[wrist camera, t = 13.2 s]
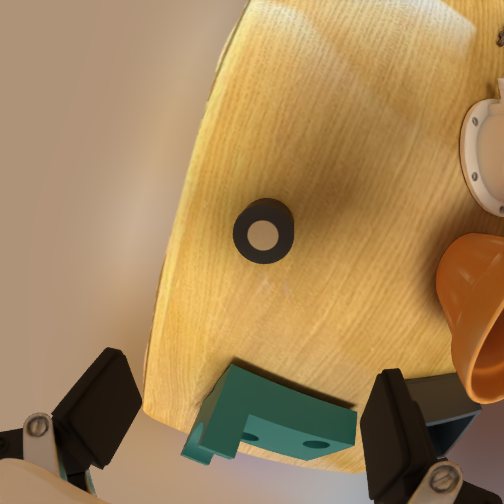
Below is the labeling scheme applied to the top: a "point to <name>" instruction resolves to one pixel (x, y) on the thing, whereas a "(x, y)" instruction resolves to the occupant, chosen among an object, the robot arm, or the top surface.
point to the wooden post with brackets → (503, 38)
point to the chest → (444, 409)
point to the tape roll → (264, 231)
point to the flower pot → (475, 312)
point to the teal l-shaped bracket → (266, 421)
